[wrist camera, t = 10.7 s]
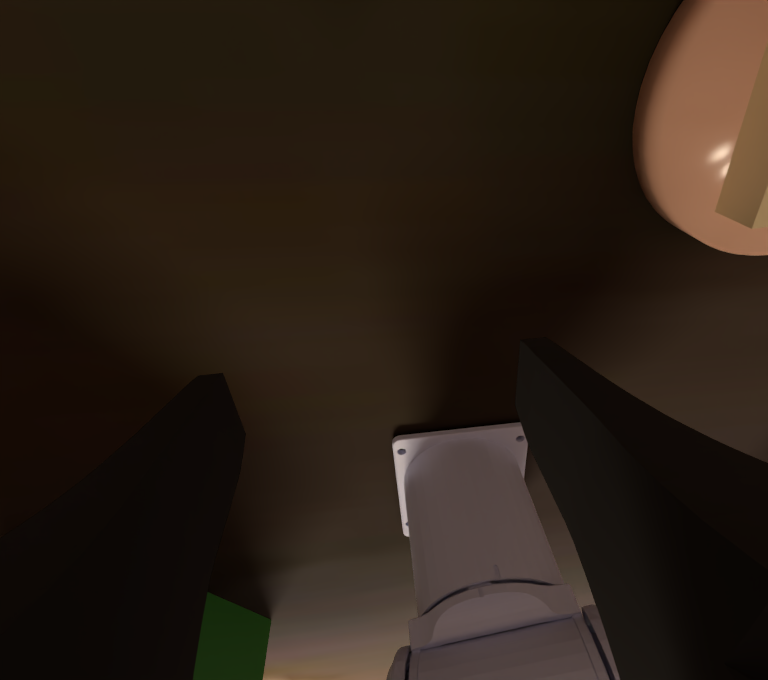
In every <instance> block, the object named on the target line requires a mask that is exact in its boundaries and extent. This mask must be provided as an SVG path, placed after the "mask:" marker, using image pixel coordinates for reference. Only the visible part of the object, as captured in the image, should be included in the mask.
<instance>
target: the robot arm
mask: <svg viewBox="0 0 768 680" xmlns="http://www.w3.org/2000/svg"><path fill="white" fill-rule="evenodd" d="M515 406H516V409H517V413H518V416H519V419H520V422H518V423H508V424H499V425H490V426H481V427H472V428H463V429H454V430H445V431H435V432H426V433H417V434H408V435H399V436H396V437H395V438H394V439H393V440H392V447H393V455H394V463H395V471H396V479H397V487H398V495H399V503H400V511H401V519H402V527H403V533H404V535H406V536H409V538H410V547H411V556H412V565H413V574H414V583H415V592H416V601H417V610H418V618H415V619H411V620H409V621H408V624H409V635H410V645H409V646H404V647H401V648H400V649H399V650H398V651H397V653H396V655H395V657H394V661H393V663H392V665H391V667H390V669H389V672H388V675H387V680H768V463H766V462H764V461H761V460H759V459H757V458H754V457H752V456H750V455H747V454H745V453H743V452H740V451H738V450H736V449H733V448H731V447H729V446H727V445H725V444H723V443H720V442H718V441H716V440H714V439H712V438H710V437H708V436H706V435H704V434H702V433H700V432H698V431H696V430H694V429H692V428H690V427H688V426H686V425H684V424H682V423H680V422H678V421H676V420H674V419H673V418H671V417H669V416H667V415H665V414H663V413H662V412H660V411H658V410H656V409H655V408H653V407H651V406H650V405H648V404H646V403H645V402H643V401H641V400H639V399H638V398H636V397H634V396H633V395H631V394H630V393H628V392H626V391H625V390H623V389H622V388H620V387H618V386H617V385H615V384H614V383H612V382H611V381H609V380H608V379H606V378H605V377H603V376H602V375H600V374H599V373H597V372H596V371H594V370H593V369H591V368H590V367H588V366H587V365H586V364H584V363H583V362H581V361H580V360H578V359H577V358H576V357H574V356H573V355H571V354H570V353H568V352H567V351H566V350H564V349H563V348H561V347H560V346H558V345H557V344H556V343H554V342H553V341H551V340H549V339H548V338H546V337H543V338H534V339H525V340H520V350H519V362H518V374H517V386H516V398H515ZM245 435H246V434H245V431H244V428H243V426H242V423H241V420H240V418H239V415H238V412H237V410H236V407H235V404H234V401H233V399H232V396H231V393H230V391H229V388H228V385H227V383H226V380H225V377H224V375H223V373H219V374H210V375H201V376H197V377H196V378H195V379H194V380H192V381H191V382H190V383H189V384H188V385H187V386H186V387H185V388H184V389H183V390H181V391H180V392H179V393H178V394H177V395H176V396H175V397H174V398H173V399H172V400H171V401H170V402H169V403H168V404H167V405H166V406H165V407H164V408H163V409H162V410H161V411H159V412H158V413H157V414H156V415H155V416H154V417H153V418H152V419H151V420H150V421H149V422H148V423H147V424H146V425H145V426H143V427H142V428H141V429H140V430H139V431H138V432H137V433H136V434H135V435H134V436H133V437H132V438H130V439H129V440H128V441H127V442H126V443H125V444H124V445H122V446H121V447H120V448H119V449H118V450H117V451H116V452H114V453H113V454H112V455H111V456H110V457H109V458H108V459H106V460H105V461H104V462H103V463H102V464H101V465H99V466H98V467H97V468H96V469H95V470H94V471H92V472H91V473H90V474H89V475H87V476H86V477H85V478H84V479H82V480H81V481H80V482H79V483H77V484H76V485H75V486H74V487H72V488H71V489H70V490H68V491H67V492H66V493H64V494H63V495H62V496H60V497H59V498H58V499H56V500H55V501H54V502H52V503H51V504H50V505H48V506H47V507H45V508H44V509H43V510H41V511H40V512H39V513H37V514H36V515H34V516H33V517H31V518H30V519H28V520H27V521H25V522H24V523H22V524H21V525H19V526H18V527H16V528H15V529H13V530H12V531H10V532H9V533H7V534H6V535H4V536H3V537H1V538H0V680H193V675H194V669H195V663H196V656H197V650H198V644H199V638H200V632H201V625H202V620H203V614H204V609H205V604H206V598H207V593H208V587H209V582H210V577H211V573H212V569H213V565H214V561H215V558H216V554H217V551H218V547H219V544H220V540H221V537H222V534H223V530H224V527H225V523H226V520H227V517H228V513H229V510H230V506H231V503H232V499H233V496H234V492H235V489H236V485H237V482H238V478H239V474H240V470H241V464H242V458H243V451H244V443H245ZM518 436H520V437H518ZM528 445H529V447H530V449H531V451H532V453H533V455H534V458H535V460H536V462H537V464H538V466H539V468H540V470H541V472H542V475H543V477H544V479H545V481H546V483H547V485H548V487H549V489H550V491H551V493H552V495H553V497H554V500H555V502H556V504H557V506H558V508H559V510H560V512H561V514H562V516H563V518H564V520H565V523H566V525H567V527H568V530H569V532H570V534H571V537H572V539H573V541H574V544H575V547H576V550H577V552H578V555H579V558H580V561H581V563H582V566H583V569H584V572H585V575H586V577H587V580H588V583H589V586H590V589H591V592H592V595H593V598H594V601H595V603H596V606H595V605H588V606H584V607H581V608H582V613H581V611H580V608H579V606H578V603H577V601H576V598H575V596H574V593H573V591H572V588H571V586H570V584H564V581H563V579H562V576H561V574H560V571H559V569H558V566H557V563H556V561H555V558H554V556H553V553H552V551H551V548H550V545H549V543H548V540H547V538H546V535H545V533H544V530H543V527H542V525H541V522H540V520H539V517H538V515H537V512H536V509H535V507H534V504H533V502H532V499H531V497H530V494H529V491H528V489H527V486H526V484H525V481H524V474H525V465H526V456H527V447H528ZM399 449H403V450H399ZM582 615H583V616H582Z"/></svg>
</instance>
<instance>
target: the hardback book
mask: <svg viewBox="0 0 768 680" xmlns="http://www.w3.org/2000/svg"><path fill="white" fill-rule="evenodd" d="M270 625H271V619H268V618H266V617H264V616H261V615H259V614H257V613H255V612H252V611H250V610H248V609H245V608H243V607H241V606H239V605H236V604H234V603H232V602H229V601H227V600H225V599H223V598H220V597H218V596H216V595H213V594H211V593H209V592H208V593H207V598H206V604H205V609H204V614H203V620H202V625H201V632H200V638H199V644H198V650H197V656H196V663H195V669H194V675H193V680H262V679H263V673H264V666H265V659H266V652H267V645H268V639H269V632H270Z"/></svg>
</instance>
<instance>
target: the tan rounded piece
mask: <svg viewBox="0 0 768 680" xmlns="http://www.w3.org/2000/svg"><path fill="white" fill-rule="evenodd" d="M633 157H634V165H635V170H636V173H637V177H638V180H639V184H640V186H641V188H642V190H643V192H644V194H645V197H646V199H647V200H648V201H649V203H650V204H651V206H652V207H653V208H654V210H655V211H656V212H657V213H658V214H659V215H660V216H661V217H662V218H663V219H665V220H666V221H667V222H669V223H670V224H672V225H673V226H675V227H676V228H678V229H680V230H681V231H683V232H685V233H687V234H689V235H690V236H692V237H694V238H696V239H697V240H699V241H701V242H703V243H704V244H706V245H709V246H711V247H713V248H716V249H718V250H721V251H725V252H729V253H733V254H739V255H752V256H757V255H768V0H683V2H682V3H681V4H680V6H679V7H678V9H677V10H676V12H675V13H674V15H673V17H672V19H671V20H670V22H669V24H668V25H667V27H666V29H665V31H664V32H663V34H662V36H661V38H660V40H659V42H658V44H657V47H656V49H655V51H654V53H653V55H652V57H651V59H650V62H649V65H648V67H647V70H646V73H645V76H644V79H643V81H642V84H641V88H640V92H639V96H638V100H637V104H636V109H635V116H634V124H633Z"/></svg>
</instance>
